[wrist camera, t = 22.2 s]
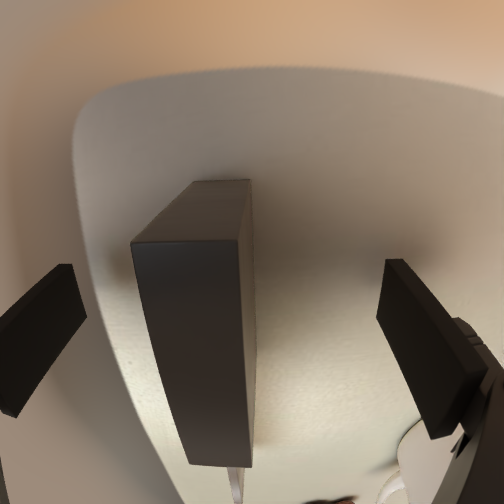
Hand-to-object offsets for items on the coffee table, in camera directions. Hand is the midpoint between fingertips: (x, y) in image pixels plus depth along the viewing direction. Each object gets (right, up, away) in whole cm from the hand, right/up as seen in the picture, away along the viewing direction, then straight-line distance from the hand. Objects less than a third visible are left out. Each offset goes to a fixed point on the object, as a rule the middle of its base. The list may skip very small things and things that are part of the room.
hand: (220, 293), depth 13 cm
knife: (0, -4, +4) cm, 5 cm away
